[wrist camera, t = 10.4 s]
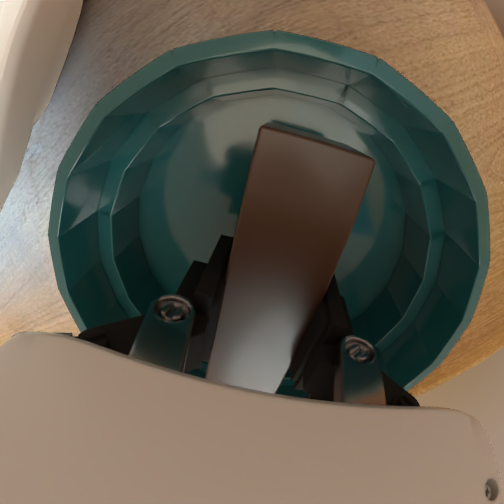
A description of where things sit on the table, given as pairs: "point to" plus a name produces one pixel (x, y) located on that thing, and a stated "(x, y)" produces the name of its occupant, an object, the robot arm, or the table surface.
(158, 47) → the table surface
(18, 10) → the bowl
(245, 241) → the brown wooden block
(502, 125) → the table surface
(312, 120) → the mixing bowl
